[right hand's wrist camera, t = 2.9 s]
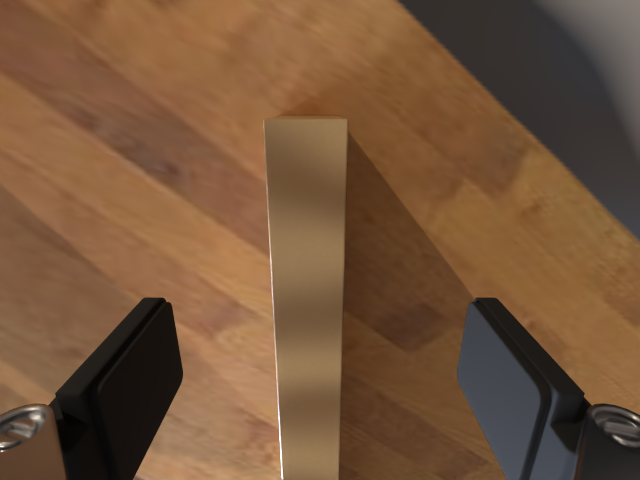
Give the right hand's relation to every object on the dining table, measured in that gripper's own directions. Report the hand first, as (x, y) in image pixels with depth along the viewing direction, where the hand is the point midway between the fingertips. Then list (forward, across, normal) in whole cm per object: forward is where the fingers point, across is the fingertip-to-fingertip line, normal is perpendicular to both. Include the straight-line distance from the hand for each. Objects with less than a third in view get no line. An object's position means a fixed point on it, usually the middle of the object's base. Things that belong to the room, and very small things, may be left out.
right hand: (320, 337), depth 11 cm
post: (+18, -1, -22) cm, 28 cm away
